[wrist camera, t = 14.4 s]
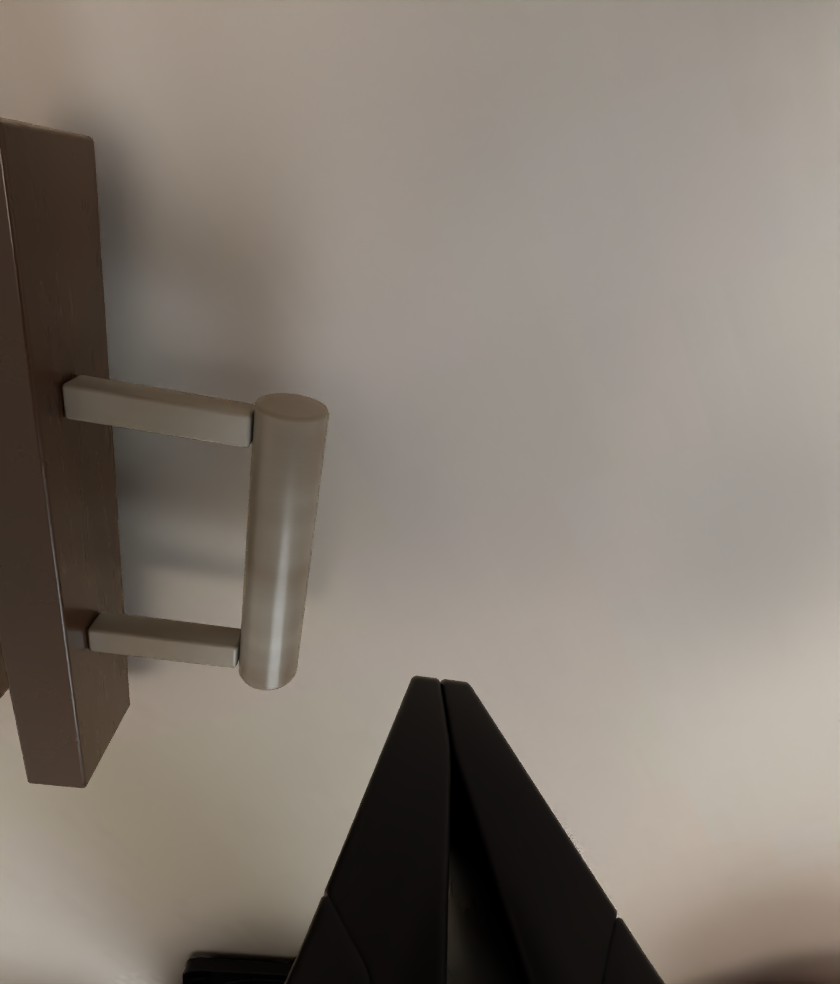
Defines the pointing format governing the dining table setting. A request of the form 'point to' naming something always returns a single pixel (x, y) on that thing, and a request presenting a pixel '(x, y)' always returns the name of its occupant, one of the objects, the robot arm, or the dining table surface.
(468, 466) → the dining table surface
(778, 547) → the dining table surface
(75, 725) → the drawer
